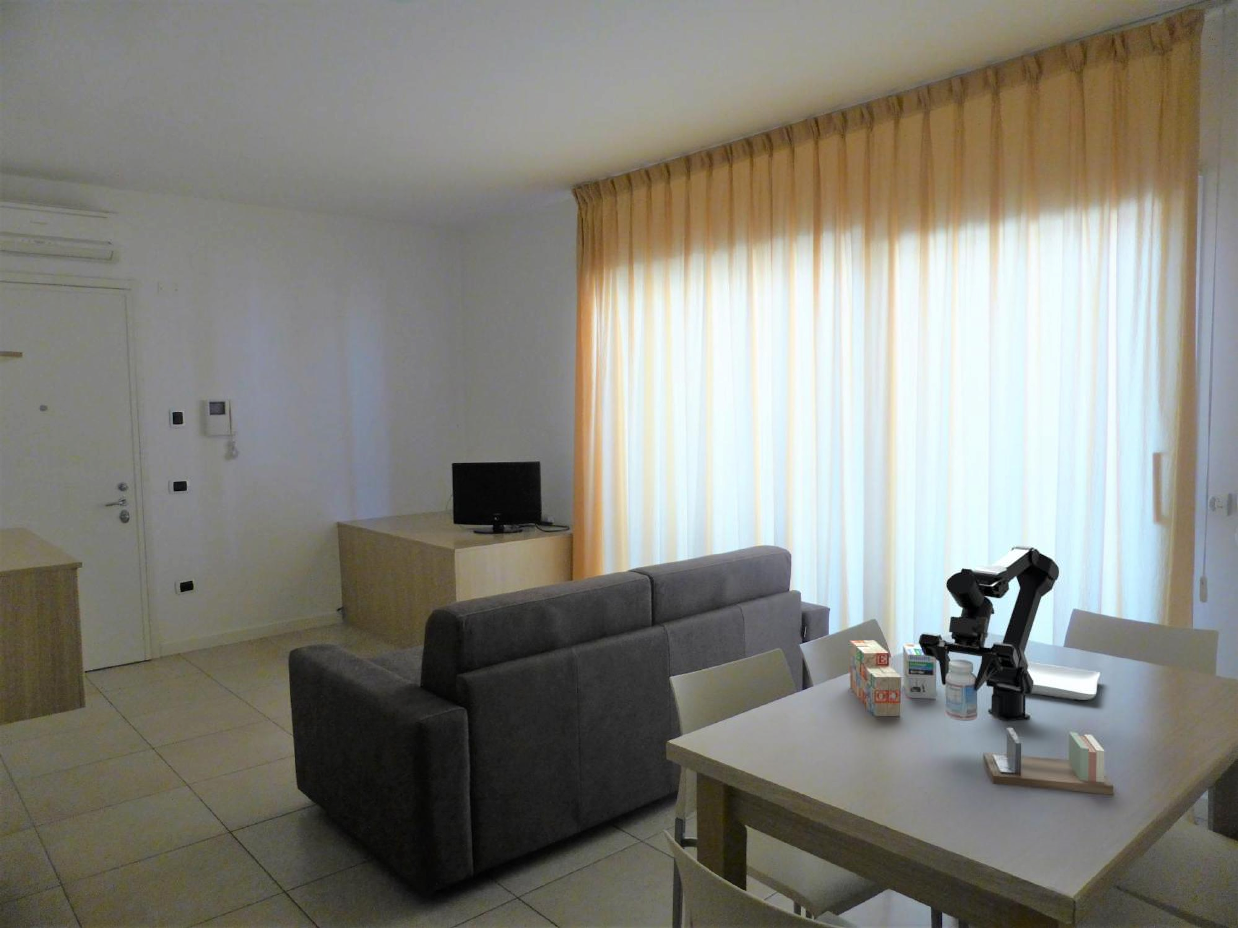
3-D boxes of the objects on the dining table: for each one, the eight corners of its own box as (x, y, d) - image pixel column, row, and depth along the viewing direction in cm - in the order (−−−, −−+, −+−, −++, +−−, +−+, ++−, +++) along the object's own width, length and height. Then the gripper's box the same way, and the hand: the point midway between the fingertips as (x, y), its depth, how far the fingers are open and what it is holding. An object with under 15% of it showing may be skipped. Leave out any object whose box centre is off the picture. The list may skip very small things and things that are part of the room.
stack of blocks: (901, 716, 192) (901, 663, 191) (873, 716, 192) (874, 663, 191) (874, 687, 213) (874, 639, 213) (849, 687, 213) (849, 639, 213)
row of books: (1068, 762, 161) (1069, 732, 161) (1091, 764, 160) (1091, 733, 160) (1080, 779, 154) (1080, 747, 153) (1104, 782, 153) (1104, 749, 152)
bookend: (992, 756, 165) (993, 726, 164) (1012, 757, 164) (1012, 727, 164) (1000, 772, 157) (1001, 741, 157) (1020, 774, 156) (1021, 743, 156)
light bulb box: (936, 699, 203) (937, 655, 202) (907, 698, 204) (908, 654, 204) (929, 686, 213) (930, 644, 213) (902, 684, 215) (902, 642, 214)
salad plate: (1100, 683, 215) (1100, 670, 215) (1095, 707, 197) (1095, 693, 197) (1010, 670, 227) (1010, 658, 226) (997, 692, 209) (997, 679, 209)
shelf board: (983, 760, 167) (983, 752, 167) (1094, 769, 162) (1094, 761, 162) (993, 783, 156) (993, 775, 156) (1113, 794, 151) (1113, 786, 151)
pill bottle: (973, 710, 175) (972, 658, 174) (981, 722, 169) (980, 667, 168) (942, 710, 176) (942, 657, 175) (949, 721, 170) (948, 667, 169)
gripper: (921, 595, 180) (903, 659, 172) (1015, 605, 168) (1000, 675, 160) (933, 622, 186) (916, 685, 179) (1024, 634, 175) (1011, 702, 167)
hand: (959, 686), depth 171 cm, fingers closed on pill bottle, 6 cm apart
